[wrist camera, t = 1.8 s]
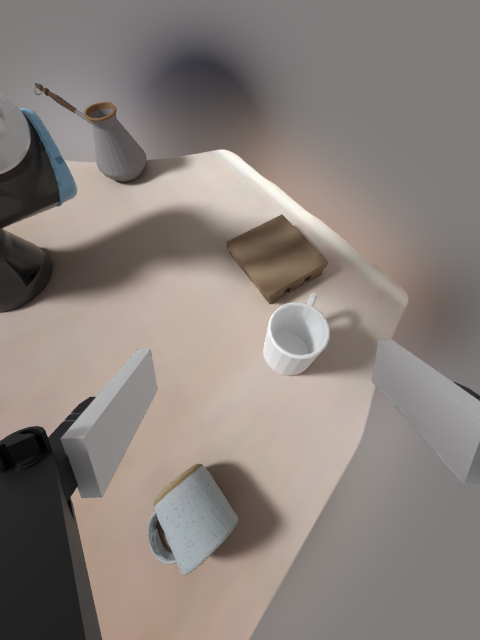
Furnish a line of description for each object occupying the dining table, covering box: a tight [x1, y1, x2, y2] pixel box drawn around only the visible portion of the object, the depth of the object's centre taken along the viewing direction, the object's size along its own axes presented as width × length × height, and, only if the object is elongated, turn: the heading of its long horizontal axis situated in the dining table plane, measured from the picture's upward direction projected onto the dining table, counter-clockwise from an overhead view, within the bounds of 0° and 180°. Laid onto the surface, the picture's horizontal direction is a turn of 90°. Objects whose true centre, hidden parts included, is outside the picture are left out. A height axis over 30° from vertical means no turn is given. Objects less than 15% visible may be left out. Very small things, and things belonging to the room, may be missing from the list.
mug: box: [263, 292, 330, 376], centre depth 38 cm, size 8×12×10 cm, turn 153°
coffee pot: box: [34, 83, 146, 182], centre depth 56 cm, size 21×12×15 cm, turn 66°
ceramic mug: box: [147, 464, 238, 575], centre depth 29 cm, size 11×8×8 cm
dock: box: [227, 215, 328, 304], centre depth 48 cm, size 14×13×4 cm
